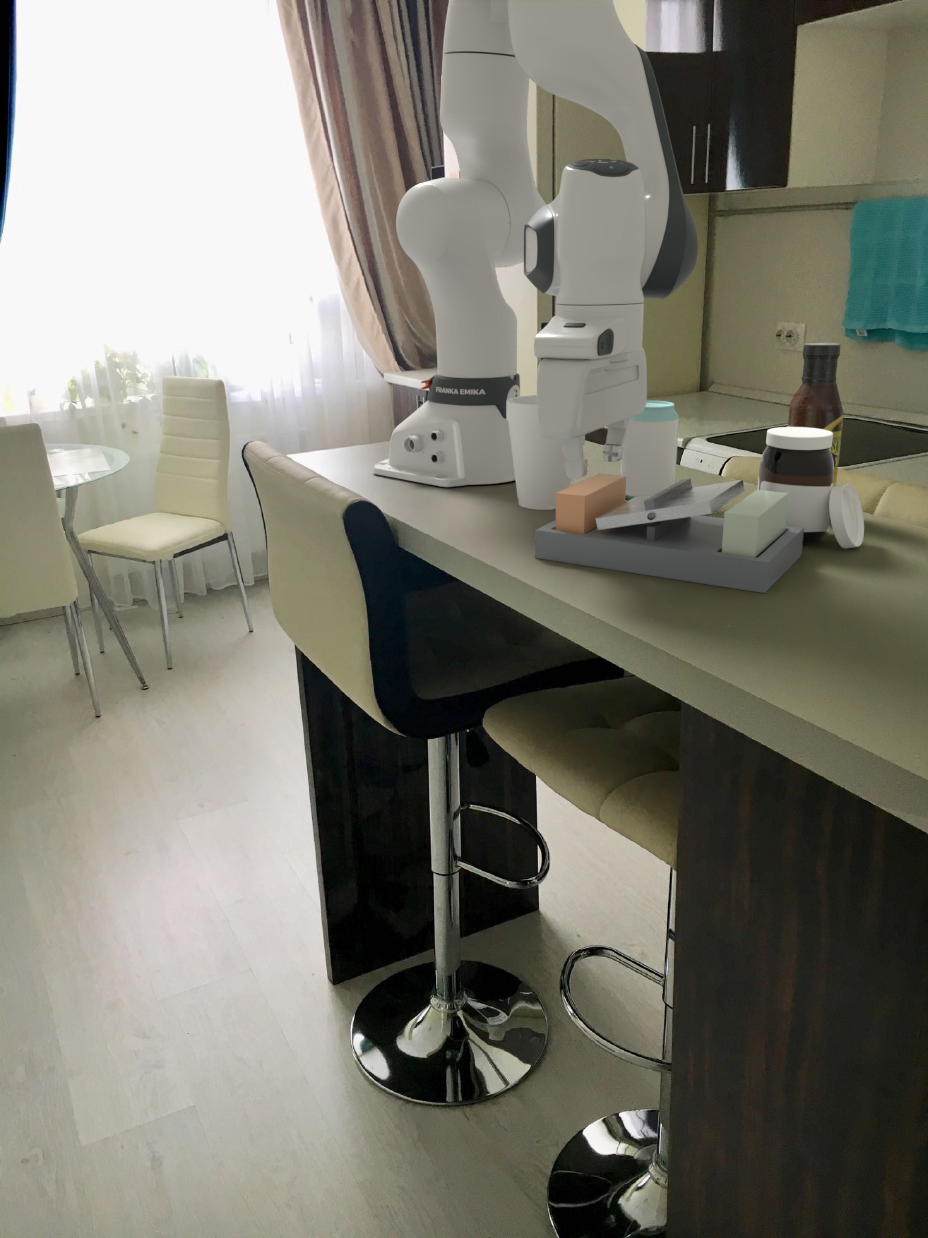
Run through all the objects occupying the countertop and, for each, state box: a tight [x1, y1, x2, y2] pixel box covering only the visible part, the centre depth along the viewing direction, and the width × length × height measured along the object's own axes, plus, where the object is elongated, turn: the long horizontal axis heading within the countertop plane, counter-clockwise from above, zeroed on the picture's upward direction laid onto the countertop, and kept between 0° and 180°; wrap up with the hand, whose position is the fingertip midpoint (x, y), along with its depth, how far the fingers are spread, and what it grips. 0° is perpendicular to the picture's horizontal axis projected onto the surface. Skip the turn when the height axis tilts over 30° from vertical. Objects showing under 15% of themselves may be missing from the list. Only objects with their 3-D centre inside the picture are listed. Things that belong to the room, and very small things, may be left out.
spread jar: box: [756, 426, 865, 549], centre depth 109 cm, size 12×11×12 cm
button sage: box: [721, 489, 788, 557], centre depth 99 cm, size 3×11×4 cm, turn 149°
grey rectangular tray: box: [534, 515, 804, 594], centre depth 105 cm, size 24×14×4 cm, turn 59°
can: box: [619, 400, 680, 500], centre depth 129 cm, size 7×7×12 cm
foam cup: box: [506, 394, 574, 511], centre depth 126 cm, size 10×9×13 cm
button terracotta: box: [555, 473, 626, 534], centre depth 108 cm, size 3×11×4 cm, turn 149°
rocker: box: [595, 478, 746, 530], centre depth 103 cm, size 12×12×2 cm
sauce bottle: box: [786, 342, 845, 487], centre depth 119 cm, size 6×6×20 cm
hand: (595, 468), depth 107 cm, fingers open, 8 cm apart
